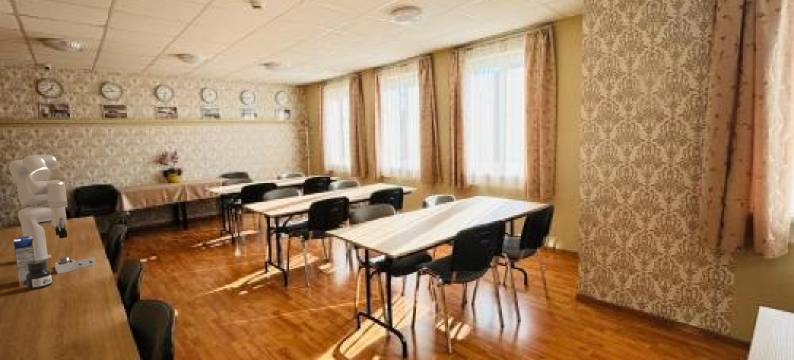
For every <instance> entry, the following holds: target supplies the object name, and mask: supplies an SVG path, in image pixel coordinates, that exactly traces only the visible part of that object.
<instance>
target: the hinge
mask: <svg viewBox="0 0 794 360" xmlns="http://www.w3.org/2000/svg"><path fill="white" fill-rule="evenodd" d="M94 265H95V266H96V257H94V256H93V257H88V258H84V259H79V260H75V259H73V258H72V259H70V263H65V264H60V261H57V262H54V268H55V269H54V270H55V272H56V273H57V275H58V274H64V273H67V272H74V271H77V270H78V269H82V268H84V267H85V268H86V267H89V266H94Z"/></svg>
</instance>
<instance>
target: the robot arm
mask: <svg viewBox="0 0 794 360" xmlns="http://www.w3.org/2000/svg"><path fill="white" fill-rule="evenodd" d="M57 167H58V160H57V158H56V156H54V155H52V154H31V155H26V156H25V157H24V158H23V159H16V160H12V161H11V162H10V163H9V172H10V174H11V176H12V178H13V179H14V181H15V183H16V187H17V189H16V190H17V195H18V199H19V202H20V204H21V205H22V206H23V205H24V206H30V207H25V208H22V209H20V210H19V211H18V215H17V216H18V219H19V222H20V225H21V229H22V237H25V236H33V242H34V250H35V258H36V261H38V260H49V259H50V258H52V255H51V254H48V248H47V247H48V245H47V240H46V233H45V232H46V231H45V228H44V227H43V226H42V225H40V224H39V223H44V222H49V221H51V225H52V226H53V227H55V235H56V236H58V238H59V239H64V238H68V230H67V225H68V224H67V223H68V222H67V213H66V212H67V211H66V208H68V206H69V205H68V200H67V198H68V197H67V191H66V190H67V188H66V183H65V182H64V181H62V180H60V179H52V180H47V178H49V177H50V175H51V172H52V171H53V170H55V169H56V168H57ZM41 204H44V205H41ZM32 205H35V206H32ZM36 205H37V206H36ZM39 205H40V206H39Z"/></svg>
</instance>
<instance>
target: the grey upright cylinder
mask: <svg viewBox="0 0 794 360" xmlns="http://www.w3.org/2000/svg"><path fill="white" fill-rule="evenodd" d="M70 258H71V257H70V256H65V257H64V256H63V257H60V258H59V262H60V264H65V263H70V260H71V259H70Z"/></svg>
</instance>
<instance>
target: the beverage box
mask: <svg viewBox="0 0 794 360" xmlns="http://www.w3.org/2000/svg"><path fill="white" fill-rule="evenodd" d="M13 247H14V253H15V254H14V255H15V260H16V261H15V262H16V268H17V275H18V283H19V287H22V286H27V282H26V275H27V274H28V273H29V271H28V267H27V263H29V262H33V261H36V258H35V250H34V242H33V236H25V237H23V236H19V237H14V238H13Z"/></svg>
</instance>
